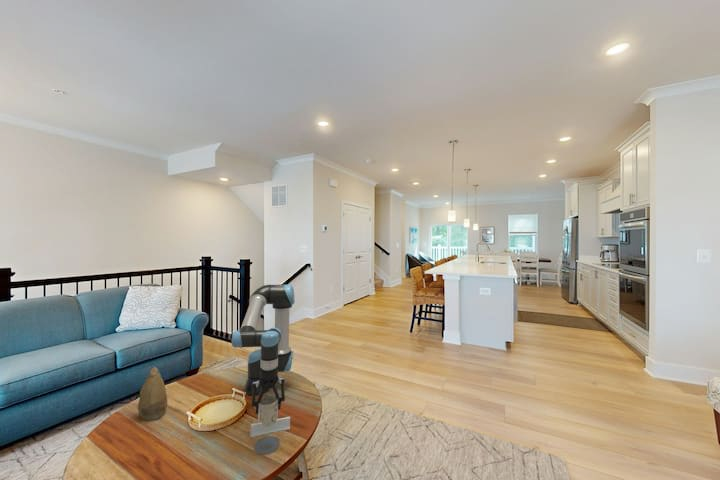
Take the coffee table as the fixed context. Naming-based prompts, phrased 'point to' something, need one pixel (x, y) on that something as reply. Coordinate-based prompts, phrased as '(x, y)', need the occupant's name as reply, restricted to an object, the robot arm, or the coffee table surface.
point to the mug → (268, 410)
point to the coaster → (267, 445)
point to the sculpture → (153, 396)
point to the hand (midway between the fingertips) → (267, 418)
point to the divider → (270, 427)
